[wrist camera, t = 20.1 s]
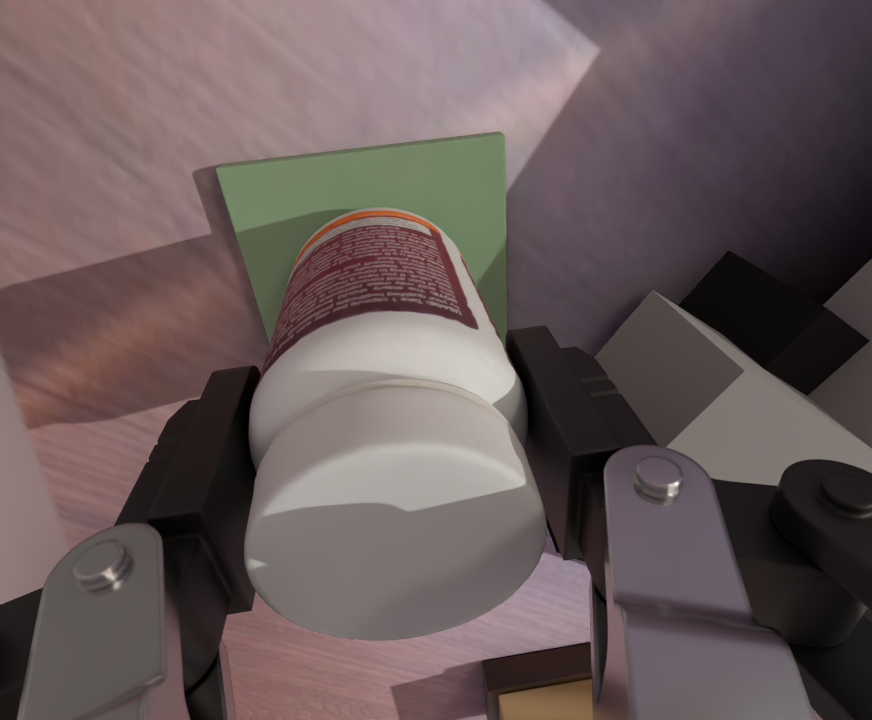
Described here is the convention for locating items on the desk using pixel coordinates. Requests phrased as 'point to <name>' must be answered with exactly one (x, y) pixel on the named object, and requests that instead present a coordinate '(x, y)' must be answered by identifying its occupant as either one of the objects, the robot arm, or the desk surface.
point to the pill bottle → (388, 440)
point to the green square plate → (367, 188)
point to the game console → (750, 373)
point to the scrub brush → (540, 685)
